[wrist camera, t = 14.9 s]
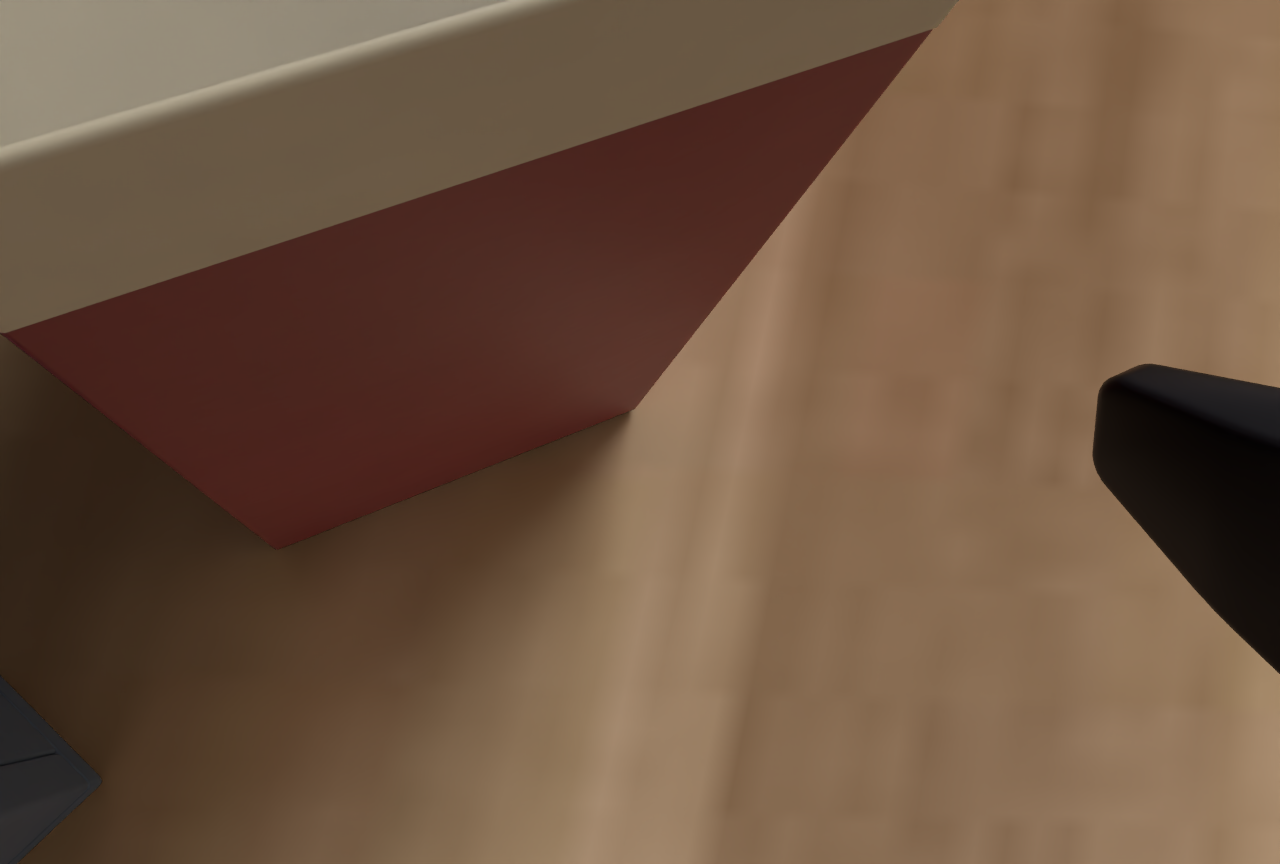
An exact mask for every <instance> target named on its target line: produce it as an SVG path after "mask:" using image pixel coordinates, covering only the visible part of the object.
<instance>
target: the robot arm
mask: <svg viewBox="0 0 1280 864" xmlns="http://www.w3.org/2000/svg"><path fill="white" fill-rule="evenodd" d="M1093 461H1094V465H1095V468H1096V471H1097V473H1098V475H1099V476H1100V478H1101V480H1102V481H1103V483H1104V484H1105V485H1106V486H1107V488H1108V489H1109V490H1110V491H1111V492H1112V493H1113V495H1114V496H1115V497H1116V498H1117V499H1118V500H1119V502H1120V503H1121V504H1122V505H1123V506H1124V507H1125V509H1126V510H1127V511H1128V512H1129V513H1130V514H1131V516H1132V517H1133V518H1134V519H1135V520H1136V521H1137V523H1138V524H1139V525H1140V526H1141V527H1142V528H1143V529H1144V531H1145V532H1146V533H1147V534H1148V535H1149V536H1150V538H1151V539H1152V540H1153V541H1154V542H1155V543H1156V545H1157V546H1158V547H1159V548H1160V549H1161V550H1162V552H1163V553H1164V554H1165V555H1166V556H1167V557H1168V559H1169V560H1170V561H1171V562H1172V563H1173V564H1174V566H1175V567H1176V568H1177V569H1178V570H1179V571H1180V573H1181V574H1182V575H1183V576H1184V577H1185V578H1186V580H1187V581H1188V582H1189V583H1190V584H1191V585H1192V587H1193V588H1194V589H1195V590H1196V591H1197V592H1198V593H1199V594H1200V595H1201V597H1202V598H1203V599H1204V600H1205V601H1206V602H1207V603H1208V604H1209V605H1210V606H1211V608H1212V609H1213V610H1214V611H1215V612H1216V613H1217V614H1218V615H1219V616H1220V617H1221V618H1222V619H1223V620H1224V621H1225V622H1226V623H1227V624H1228V625H1229V626H1230V627H1231V628H1232V629H1233V630H1234V631H1235V632H1236V633H1237V634H1238V635H1239V636H1240V637H1241V638H1243V639H1244V640H1245V641H1246V642H1247V643H1248V644H1249V645H1250V646H1251V647H1252V648H1253V649H1254V650H1255V651H1256V652H1257V653H1258V654H1259V655H1260V656H1261V657H1262V658H1263V659H1265V660H1266V661H1267V662H1268V663H1269V664H1270V665H1271V666H1272V667H1273V668H1274V669H1275V670H1276V671H1277V672H1278V673H1279V674H1280V388H1277V387H1272V386H1267V385H1261V384H1256V383H1251V382H1246V381H1240V380H1235V379H1230V378H1225V377H1219V376H1214V375H1209V374H1203V373H1198V372H1193V371H1188V370H1182V369H1177V368H1172V367H1167V366H1161V365H1156V364H1143V365H1139V366H1136V367H1134V368H1131V369H1129V370H1127V371H1125V372H1122V373H1120V374H1118V375H1116V376H1113V377H1111V378H1109V379H1108V380H1106V381H1105V382H1104V383H1103V385H1102V387H1101V388H1100V390H1099V394H1098V401H1097V411H1096V422H1095V432H1094V442H1093Z"/></svg>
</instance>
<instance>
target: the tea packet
mask: <svg viewBox="0 0 1280 864" xmlns="http://www.w3.org/2000/svg"><path fill="white" fill-rule="evenodd" d="M958 1H959V0H0V333H1V334H2V335H3V336H4V337H6V338H7V339H8V340H10V341H11V342H12V343H13V344H15V345H16V346H17V347H18V348H20V349H21V350H22V351H23V352H25V353H26V354H27V355H29V356H30V357H31V358H32V359H34V360H35V361H36V362H37V363H39V364H40V365H41V366H43V367H44V368H45V369H46V370H48V371H49V372H50V373H51V374H53V375H54V376H55V377H57V378H58V379H59V380H60V381H62V382H63V383H64V384H65V385H67V386H68V387H69V388H71V389H72V390H73V391H74V392H76V393H77V394H78V395H79V396H81V397H82V398H83V399H84V400H86V401H87V402H88V403H90V404H91V405H92V406H93V407H95V408H96V409H97V410H98V411H100V412H101V413H102V414H104V415H105V416H106V417H107V418H109V419H110V420H111V421H112V422H114V423H115V424H116V425H118V426H119V427H120V428H121V429H123V430H124V431H125V432H126V433H128V434H129V435H130V436H131V437H133V438H134V439H135V440H137V441H138V442H139V443H140V444H142V445H143V446H144V447H145V448H147V449H148V450H149V451H151V452H152V453H153V454H154V455H156V456H157V457H158V458H159V459H161V460H162V461H163V462H165V463H166V464H167V465H168V466H170V467H171V468H172V469H173V470H175V471H176V472H177V473H179V474H180V475H181V476H182V477H184V478H185V479H186V480H187V481H189V482H190V483H191V484H192V485H194V486H195V487H196V488H198V489H199V490H200V491H201V492H203V493H204V494H205V495H206V496H208V497H209V498H210V499H212V500H213V501H214V502H215V503H217V504H218V505H219V506H220V507H222V508H223V509H224V510H226V511H227V512H228V513H229V514H231V515H232V516H233V517H234V518H236V519H237V520H238V521H240V522H241V523H242V524H243V525H245V526H246V527H247V528H248V529H250V530H251V531H252V532H253V533H255V534H256V535H257V536H259V537H260V538H261V539H262V540H264V541H265V542H266V543H267V544H269V545H270V546H271V547H273V548H274V549H281V548H283V547H286V546H288V545H291V544H293V543H296V542H298V541H301V540H304V539H306V538H309V537H311V536H314V535H316V534H319V533H321V532H324V531H326V530H329V529H331V528H334V527H337V526H339V525H342V524H344V523H347V522H349V521H352V520H354V519H357V518H359V517H362V516H364V515H367V514H369V513H372V512H375V511H377V510H380V509H382V508H385V507H387V506H390V505H392V504H395V503H397V502H400V501H402V500H405V499H408V498H410V497H413V496H415V495H418V494H420V493H423V492H425V491H428V490H430V489H433V488H435V487H438V486H440V485H443V484H446V483H448V482H451V481H453V480H456V479H458V478H461V477H463V476H466V475H468V474H471V473H473V472H476V471H479V470H481V469H484V468H486V467H489V466H491V465H494V464H496V463H499V462H501V461H504V460H506V459H509V458H511V457H514V456H517V455H519V454H522V453H524V452H527V451H529V450H532V449H534V448H537V447H539V446H542V445H544V444H547V443H549V442H552V441H555V440H557V439H560V438H562V437H565V436H567V435H570V434H572V433H575V432H577V431H580V430H582V429H585V428H588V427H590V426H593V425H595V424H598V423H600V422H603V421H605V420H608V419H610V418H613V417H615V416H618V415H620V414H623V413H626V412H628V411H631V410H633V409H635V408H636V407H637V405H638V404H639V403H640V401H641V400H642V399H643V398H644V396H645V395H646V394H647V393H648V391H649V390H650V389H651V387H652V386H653V385H654V384H655V382H656V381H657V380H658V379H659V377H660V376H661V375H662V373H663V372H664V371H665V370H666V368H667V367H668V366H669V365H670V363H671V362H672V361H673V359H674V358H675V357H676V356H677V354H678V353H679V352H680V351H681V349H682V348H683V347H684V345H685V344H686V343H687V342H688V340H689V339H690V338H691V337H692V335H693V334H694V333H695V331H696V330H697V329H698V328H699V326H700V325H701V324H702V323H703V321H704V320H705V319H706V318H707V316H708V315H709V314H710V312H711V311H712V310H713V309H714V307H715V306H716V305H717V304H718V302H719V301H720V300H721V298H722V297H723V296H724V295H725V293H726V292H727V291H728V290H729V288H730V287H731V286H732V284H733V283H734V282H735V281H736V279H737V278H738V277H739V276H740V274H741V273H742V272H743V270H744V269H745V268H746V267H747V265H748V264H749V263H750V262H751V260H752V259H753V258H754V256H755V255H756V254H757V253H758V251H759V250H760V249H761V248H762V246H763V245H764V244H765V242H766V241H767V240H768V239H769V237H770V236H771V235H772V234H773V232H774V231H775V230H776V228H777V227H778V226H779V225H780V223H781V222H782V221H783V220H784V218H785V217H786V216H787V214H788V213H789V212H790V211H791V209H792V208H793V207H794V206H795V204H796V203H797V202H798V200H799V199H800V198H801V197H802V195H803V194H804V193H805V192H806V190H807V189H808V188H809V186H810V185H811V184H812V183H813V181H814V180H815V179H816V178H817V176H818V175H819V174H820V172H821V171H822V170H823V169H824V167H825V166H826V165H827V164H828V162H829V161H830V160H831V158H832V157H833V156H834V155H835V153H836V152H837V151H838V150H839V148H840V147H841V146H842V144H843V143H844V142H845V141H846V139H847V138H848V137H849V136H850V134H851V133H852V132H853V130H854V129H855V128H856V127H857V125H858V124H859V123H860V122H861V120H862V119H863V118H864V116H865V115H866V114H867V113H868V111H869V110H870V109H871V108H872V106H873V105H874V104H875V102H876V101H877V100H878V99H879V97H880V96H881V95H882V94H883V92H884V91H885V90H886V88H887V87H888V86H889V85H890V83H891V82H892V81H893V80H894V78H895V77H896V76H897V75H898V73H899V72H900V71H901V69H902V68H903V67H904V66H905V64H906V63H907V62H908V61H909V59H910V58H911V57H912V55H913V54H914V53H915V52H916V50H917V49H918V48H919V47H920V45H921V44H922V43H923V41H924V40H925V39H926V38H927V36H928V35H929V34H930V33H931V31H932V30H933V29H934V28H936V27H937V26H938V25H939V24H940V23H941V22H942V21H943V20H944V18H945V17H946V16H947V15H948V13H949V12H950V11H951V10H952V8H953V7H954V6H955V4H956V3H957V2H958Z"/></svg>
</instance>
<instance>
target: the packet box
mask: <svg viewBox="0 0 1280 864" xmlns="http://www.w3.org/2000/svg"><path fill="white" fill-rule="evenodd" d="M101 782H102V780H101V778H100V776H99V775H98V774H97V773H96V772H95V771H94V770H93V769H92V768H91V767H90V766H89V765H88V764H87V763H86V762H85V761H84V760H83V759H82V758H81V757H80V756H79V755H78V754H77V753H76V752H75V751H74V750H73V749H72V748H71V747H70V746H69V745H68V744H67V743H66V742H65V741H64V740H63V739H62V738H61V737H60V736H59V735H58V734H57V733H56V732H55V731H54V730H53V729H52V728H51V726H50V725H49V724H48V723H47V722H46V721H45V720H44V719H43V718H42V717H41V716H40V715H39V714H38V713H37V712H36V711H35V710H34V709H33V708H32V707H31V706H30V705H29V704H28V703H27V702H26V701H25V700H24V699H23V698H22V697H21V696H20V695H19V694H18V693H17V692H16V691H15V690H14V689H13V688H12V687H11V686H10V685H9V684H8V683H7V682H6V681H5V680H4V679H3V678H2V677H1V676H0V864H17V863H18V862H19V861H20V860H21V859H22V858H23V857H24V856H25V855H26V854H27V853H28V852H30V851H31V850H32V849H33V848H34V847H35V846H36V845H37V844H38V843H39V842H40V841H41V840H42V839H43V838H44V837H45V836H47V835H48V834H49V833H50V832H51V831H52V830H53V829H54V828H55V827H56V826H57V825H58V824H59V823H60V822H61V821H62V820H64V819H65V818H66V817H67V816H68V815H69V814H70V813H71V812H72V811H73V810H74V809H75V808H76V807H77V806H78V805H80V804H81V803H82V802H83V801H84V800H85V799H86V798H87V797H88V796H89V795H90V794H91V793H92V792H93V791H94V790H95V789H97V788H98V787H99V786H100V784H101Z"/></svg>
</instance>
